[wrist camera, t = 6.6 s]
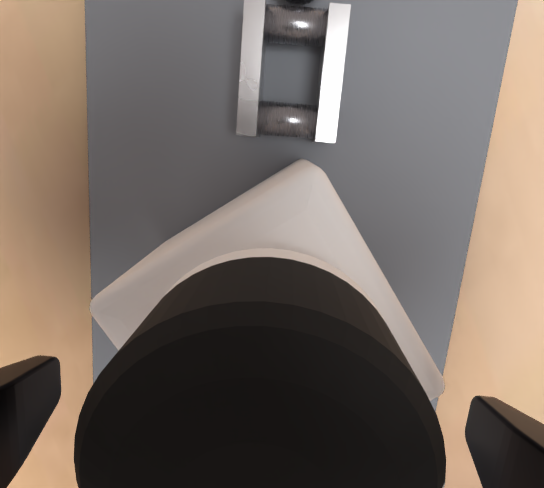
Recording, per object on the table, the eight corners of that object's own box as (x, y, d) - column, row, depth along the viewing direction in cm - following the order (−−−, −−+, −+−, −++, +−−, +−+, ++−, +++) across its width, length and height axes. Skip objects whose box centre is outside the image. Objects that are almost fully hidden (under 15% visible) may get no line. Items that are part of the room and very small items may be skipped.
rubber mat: (402, 553, 21) (405, 563, 21) (101, 524, 22) (96, 532, 21) (534, -117, 14) (543, -126, 14) (87, -150, 15) (80, -161, 14)
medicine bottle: (160, 243, 17) (-93, 437, 6) (304, 154, 16) (352, 172, 5) (249, 373, 19) (188, 746, 7) (388, 298, 18) (587, 592, 6)
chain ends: (285, 543, 21) (285, 584, 19) (216, 536, 21) (208, 576, 19) (360, -122, 14) (372, -165, 12) (257, -130, 14) (252, -174, 12)
